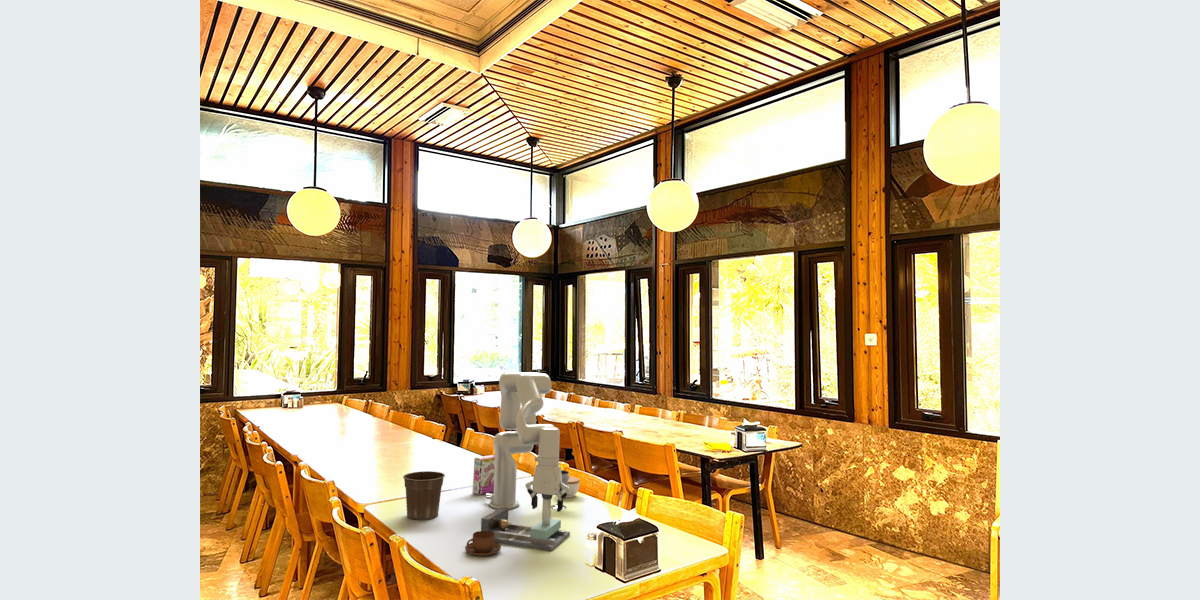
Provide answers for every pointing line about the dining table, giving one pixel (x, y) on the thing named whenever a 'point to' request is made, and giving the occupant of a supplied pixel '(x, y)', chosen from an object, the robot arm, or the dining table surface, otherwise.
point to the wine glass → (564, 480)
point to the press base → (518, 532)
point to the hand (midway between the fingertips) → (546, 509)
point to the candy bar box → (483, 475)
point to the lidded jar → (572, 486)
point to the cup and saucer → (482, 544)
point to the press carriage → (545, 521)
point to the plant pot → (423, 494)
